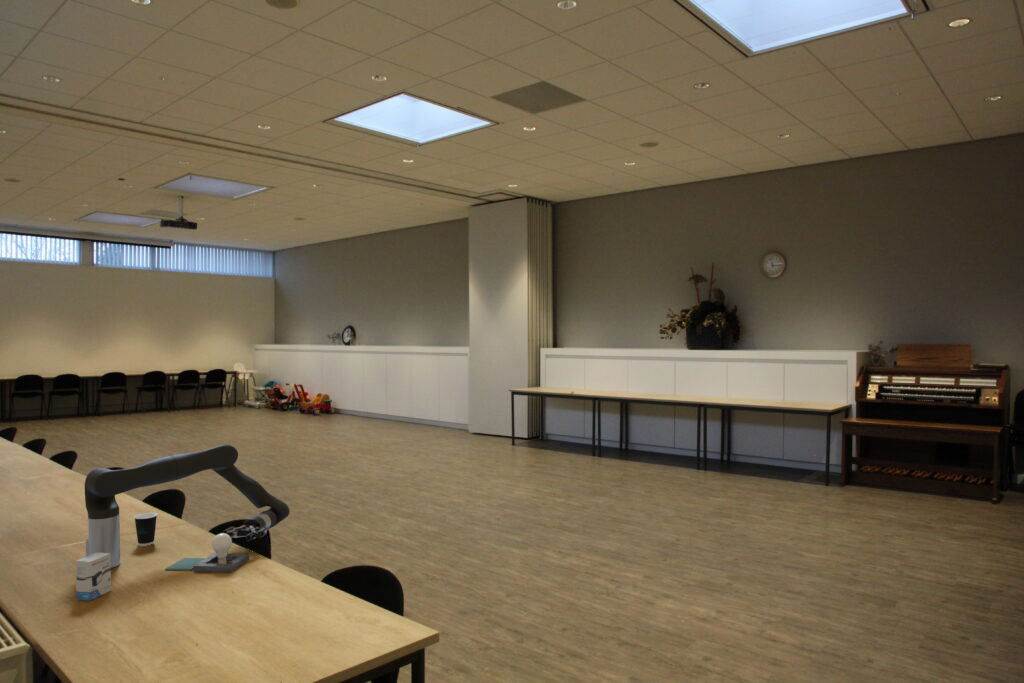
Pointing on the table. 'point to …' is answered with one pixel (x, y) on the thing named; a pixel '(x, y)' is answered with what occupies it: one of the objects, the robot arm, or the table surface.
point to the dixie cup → (145, 528)
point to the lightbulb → (221, 546)
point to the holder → (209, 565)
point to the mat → (185, 564)
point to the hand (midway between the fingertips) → (235, 538)
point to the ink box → (93, 576)
